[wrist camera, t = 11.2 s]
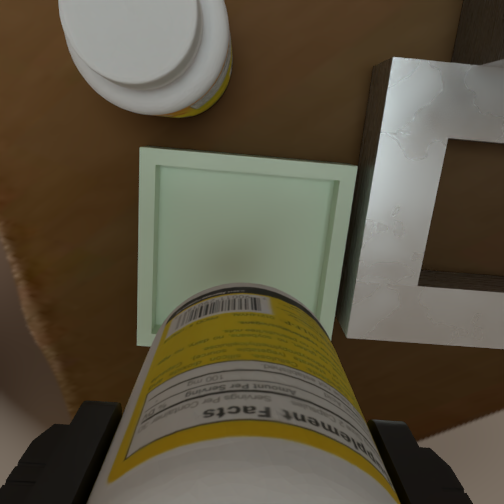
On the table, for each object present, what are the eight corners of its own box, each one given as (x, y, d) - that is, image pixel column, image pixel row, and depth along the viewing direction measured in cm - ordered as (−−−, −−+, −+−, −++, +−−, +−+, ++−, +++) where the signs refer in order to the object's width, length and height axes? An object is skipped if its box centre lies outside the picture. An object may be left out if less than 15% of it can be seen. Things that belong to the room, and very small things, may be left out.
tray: (349, 163, 23) (357, 166, 22) (322, 343, 26) (328, 358, 25) (147, 145, 23) (139, 146, 21) (143, 331, 26) (136, 345, 24)
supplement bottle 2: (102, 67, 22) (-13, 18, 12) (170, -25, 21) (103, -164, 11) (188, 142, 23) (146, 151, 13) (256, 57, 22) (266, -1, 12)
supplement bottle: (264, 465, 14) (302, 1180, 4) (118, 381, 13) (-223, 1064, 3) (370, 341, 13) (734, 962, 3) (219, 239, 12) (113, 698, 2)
